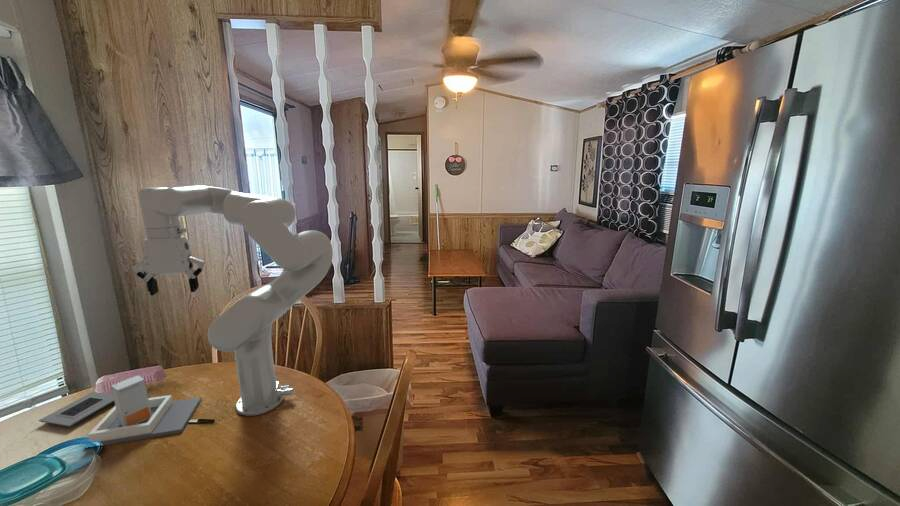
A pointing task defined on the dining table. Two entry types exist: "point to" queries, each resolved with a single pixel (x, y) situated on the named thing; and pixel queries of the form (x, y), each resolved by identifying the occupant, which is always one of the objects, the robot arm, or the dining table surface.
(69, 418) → the grey slotted tray
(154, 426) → the holder board
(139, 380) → the skincare box
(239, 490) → the dining table surface
